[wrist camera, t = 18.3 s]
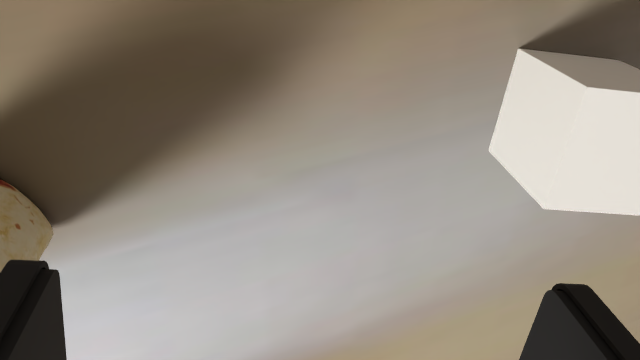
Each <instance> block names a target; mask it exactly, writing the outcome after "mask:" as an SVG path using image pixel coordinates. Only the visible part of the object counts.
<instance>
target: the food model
mask: <svg viewBox="0 0 640 360" xmlns="http://www.w3.org/2000/svg"><path fill="white" fill-rule="evenodd" d="M52 236H53V231H52V227H51V225H50V223H49V222H48V220H47V219H46V218H45V216H44V215H43V214H42V212H41V211H40V210H39V209H38V208H37V207H36V206H35V205H34V204H33V203H32V202H31V201H30V200H29V199H28V198H27V197H26V196H24V195H23V194H22V193H21V192H19V191H18V190H17V189H16V188H15V187H13V186H12V185H10V184H8V183H6V182H5V181H3V180H1V179H0V272H1V271H2V269H3V268H4V266H5V265H6V263H7V262H8V261H9V260H35V261H39V259H40V257H41V255H42V253H43V252H44V250H45V249H46V247H47V246H48V244H49V242H50V240H51V238H52Z"/></svg>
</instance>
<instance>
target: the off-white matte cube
mask: <svg viewBox="0 0 640 360" xmlns="http://www.w3.org/2000/svg"><path fill="white" fill-rule="evenodd" d="M488 151H489V152H490V153H491V154H492V155H493V156H494V157H495V158H496V159H497V160H498V161H499V162H500V163H501V164H502V165H503V167H504V168H505V169H506V170H507V171H508V172H509V173H510V174H511V175H512V176H513V177H514V178H515V179H516V180H517V181H518V182H519V183H520V184H521V186H522V187H523V188H524V189H525V190H526V191H527V192H528V193H529V194H530V195H531V196H532V197H533V198H534V199H535V200H536V201H537V202H538V204H539V205H540V206H541V207H542V208H543V209H552V210H567V211H581V212H596V213H611V214H626V215H640V69H638V68H635V67H633V66H631V65H629V64H626V63H624V62H622V61H620V60H613V59H605V58H596V57H588V56H579V55H571V54H562V53H554V52H545V51H537V50H528V49H520V48H518V51H517V55H516V58H515V61H514V65H513V68H512V72H511V75H510V79H509V82H508V85H507V89H506V92H505V96H504V99H503V103H502V106H501V109H500V113H499V116H498V120H497V123H496V126H495V130H494V133H493V137H492V140H491V144H490V147H489V150H488Z"/></svg>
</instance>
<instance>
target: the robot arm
mask: <svg viewBox="0 0 640 360" xmlns="http://www.w3.org/2000/svg"><path fill="white" fill-rule="evenodd" d="M0 360H66V348H65V336H64V324H63V312H62V300H61V288H60V276H59V272H58V270H51V269H49V267H48V264H47V262H46V261H35V260H9V261H8V262H7V263H6V265H5V266H4V268H3V269H2V271H1V272H0ZM519 360H640V344H639V343H638V341H637V340H636V339H635V338H634V337H633V336H632V335H631V333H630V332H629V331H628V330H627V329H626V328H625V327H624V325H623V324H622V323H621V322H620V321H619V320H618V319H617V317H616V316H615V315H614V314H613V313H612V312H611V311H610V309H609V308H608V307H607V306H606V305H605V304H604V303H603V301H602V300H601V299H600V298H599V297H598V296H597V295H596V293H595V292H594V291H593V290H592V289H591V288H590V287H589V286H587V285H584V284H562V283H560V284H556V285H555V286H554V287H553V288H552V290H549V291H547V292H546V293H545V295H544V297H543V299H542V302H541V304H540V307H539V310H538V312H537V315H536V317H535V320H534V323H533V325H532V328H531V330H530V333H529V335H528V338H527V341H526V343H525V346H524V348H523V351H522V354H521V356H520V359H519Z"/></svg>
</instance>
